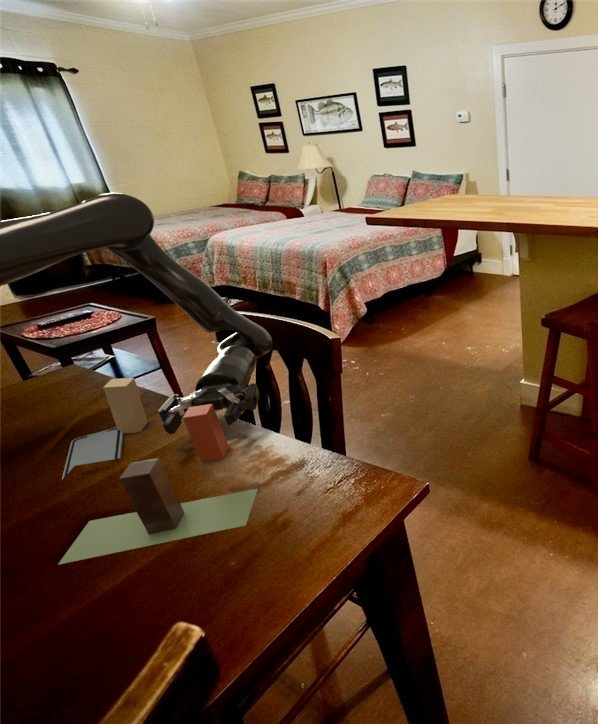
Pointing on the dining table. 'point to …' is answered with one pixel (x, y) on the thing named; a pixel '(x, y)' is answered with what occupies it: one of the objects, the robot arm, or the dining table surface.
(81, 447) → the smartphone
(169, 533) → the pale green strip
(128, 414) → the cream rectangular prism
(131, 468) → the tall brown brick
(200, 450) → the tall red brick
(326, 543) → the dining table surface
